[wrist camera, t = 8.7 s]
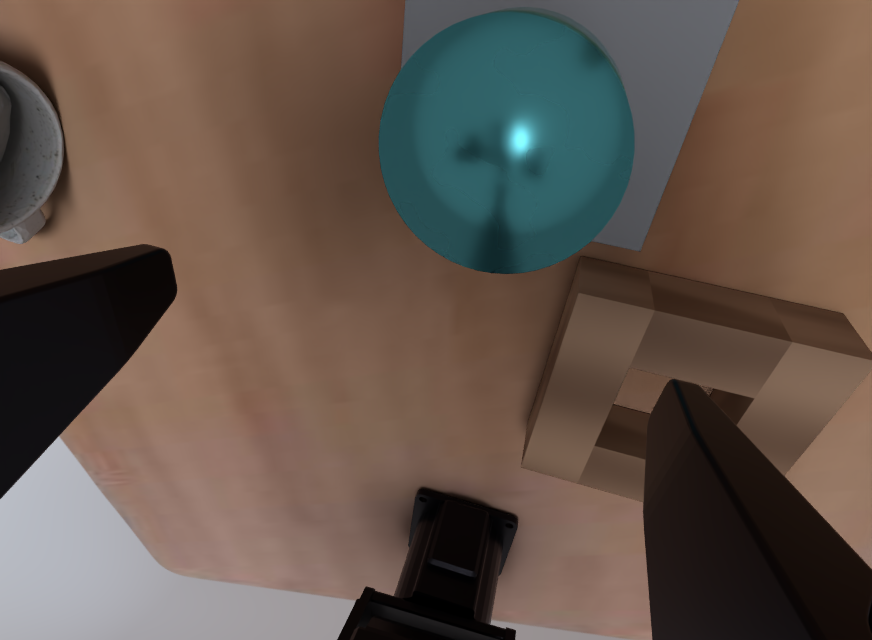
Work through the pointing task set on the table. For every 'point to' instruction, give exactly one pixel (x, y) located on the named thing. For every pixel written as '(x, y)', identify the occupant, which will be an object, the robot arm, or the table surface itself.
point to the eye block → (683, 370)
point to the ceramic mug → (26, 154)
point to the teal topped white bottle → (508, 140)
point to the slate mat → (623, 77)
